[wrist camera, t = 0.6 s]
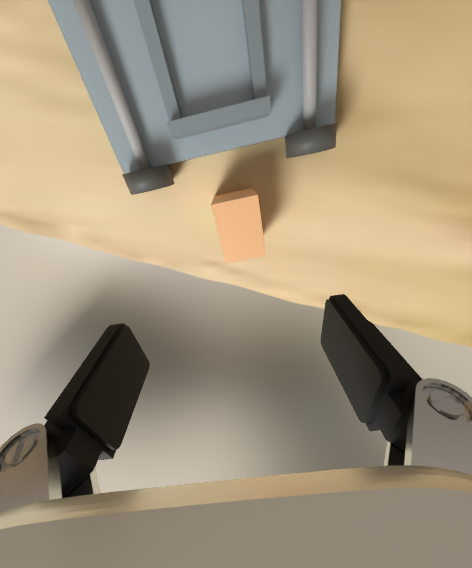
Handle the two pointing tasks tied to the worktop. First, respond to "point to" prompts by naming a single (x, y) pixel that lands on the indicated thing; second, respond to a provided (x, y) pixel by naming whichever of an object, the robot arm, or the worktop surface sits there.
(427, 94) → the worktop surface
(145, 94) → the chassis
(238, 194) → the block
